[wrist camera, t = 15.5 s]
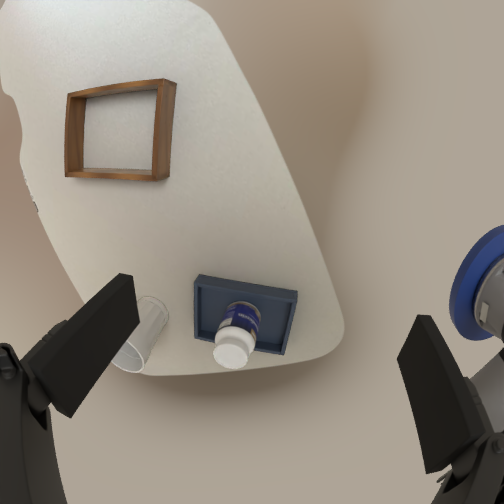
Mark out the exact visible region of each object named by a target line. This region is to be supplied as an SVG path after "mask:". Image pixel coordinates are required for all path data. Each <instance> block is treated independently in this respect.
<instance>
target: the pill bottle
mask: <svg viewBox="0 0 504 504" xmlns="http://www.w3.org/2000/svg"><path fill="white" fill-rule="evenodd" d="M260 319H261V316H260V312H259V311H258V309H257V308H256V307H255V306H254V305H252V304H250V303H248V302H244V301H238V302H234V303H232V304H230V305H229V306H228V308H227V309H226V311H225V313H224V316H223V318H222V321H221V323H220V326H219V328H218V331H217V333H216V336H215V344H216V346H215V349H214V352H213V355H214V358H215V360H216V361H217V362H218V363H219V364H220V365H222V366H223V367H226V368H229V369H239V368H242V367H243V366H245V365H246V363H247V361H248V358H249V355H250V354H251V353H252V352H253V350H254V347H255V343H256V339H257V334H258V329H259V325H260Z"/></svg>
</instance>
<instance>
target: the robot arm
mask: <svg viewBox="0 0 504 504" xmlns="http://www.w3.org/2000/svg"><path fill="white" fill-rule="evenodd" d="M472 315H473V317H474V319H475V321H476V322H477V323H478V325H479V326H480V327H481V328H482V329H484V330H486V331H487V332H489V333H491V334H493V335H494V336H496V337H498V338H500V339H501V340H502V341H503V343H504V253H503V254H501V255H500V256H498V257H497V258H496V259H495V260H494V261H493V262H492V263H491V264H490V265H489V266H488V268H487V269H486V270H485V272H484V273H483V275H482V276H481V278H480V280H479V282H478V284H477V286H476V289H475V292H474V295H473V299H472ZM139 323H140V318H139V312H138V307H137V301H136V295H135V288H134V281H133V276H132V275H127V274H122V273H119V274H118V275H117V276H116V277H115V278H113V279H112V280H111V281H110V282H109V283H108V284H107V285H106V286H104V287H103V288H102V289H101V290H100V291H99V292H98V293H97V294H96V295H95V296H94V297H92V298H91V299H90V300H89V301H88V302H87V303H86V304H85V305H84V306H83V307H82V308H81V309H80V310H79V311H78V312H76V314H74V315H73V316H72V317H71V318H70V319H69V320H68V321H67V320H64V321H62V322H60V323H58V324H57V325H55V326H54V327H53V328H52V329H51V330H50V331H49V332H48V334H46V335H45V336H44V337H43V338H42V340H40V341H39V342H38V343H37V344H36V345H35V346H34V347H33V348H32V349H31V350H30V351H29V352H28V353H27V354H26V355H25V356H24V357H23V358H22V359H21V360H20V361H19V359H18V357H17V355H16V353H15V352H14V350H13V348H12V346H11V345H10V344H7V343H0V504H67V501H66V497H65V494H64V490H63V486H62V482H61V478H60V473H59V468H58V464H57V458H56V453H55V447H54V440H53V433H52V424H51V414H50V409H49V407H48V405H49V404H50V403H52V404H53V405H54V407H55V408H56V410H57V411H59V412H60V413H62V414H64V415H65V416H67V417H69V418H72V416H73V415H74V413H75V412H76V410H77V409H78V407H79V405H80V404H81V403H82V401H83V400H84V398H85V397H86V396H87V394H88V393H89V391H90V390H91V389H92V387H93V386H94V384H95V383H96V381H97V380H98V379H99V377H100V376H101V374H102V373H103V372H104V370H105V369H106V368H107V366H108V365H109V363H110V362H111V361H112V359H113V358H114V357H115V355H116V354H117V353H118V351H119V350H120V349H121V347H122V346H123V345H124V343H125V342H126V341H127V339H128V338H129V337H130V335H131V334H132V333H133V331H134V330H135V329H136V327H137V326H138V325H139ZM397 361H398V364H399V368H400V371H401V374H402V377H403V380H404V383H405V387H406V390H407V394H408V397H409V401H410V405H411V408H412V412H413V416H414V420H415V424H416V428H417V432H418V436H419V440H420V445H421V450H422V455H423V460H424V465H425V471H426V474H429V473H434V472H438V471H441V470H443V469H444V468H445V467H447V466H448V465H449V464H451V466H452V469H451V470H450V471H448V472H447V473H446V474H444V475H443V476H441V477H440V478H439V479H438V480H437V483H438V482H440V481H442V480H443V479H444V478H445V479H444V481H443V483H441V487H440V489H439V491H438V493H437V494H436V496H435V498H434V500H433V501H432V503H431V504H504V348H503V349H502V350H501V351H500V352H499V353H498V354H497V355H496V356H495V357H494V358H493V359H492V360H490V361H489V362H488V363H487V364H486V365H485V366H484V367H483V368H482V369H481V370H480V371H479V372H477V373H476V374H475V375H474V376H473V377H472V378H470V379H469V378H468V377H463V376H462V373H461V371H460V369H459V367H458V365H457V363H456V361H455V359H454V357H453V355H452V353H451V351H450V349H449V348H448V346H447V344H446V342H445V340H444V338H443V337H442V335H441V333H440V331H439V329H438V328H437V326H436V324H435V322H434V321H433V319H432V317H431V316H430V315H417V317H416V319H415V322H414V324H413V326H412V328H411V330H410V333H409V335H408V337H407V339H406V341H405V343H404V345H403V347H402V349H401V351H400V353H399V355H398V357H397Z"/></svg>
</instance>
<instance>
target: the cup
mask: <svg viewBox="0 0 504 504" xmlns="http://www.w3.org/2000/svg"><path fill="white" fill-rule="evenodd" d="M137 307H138V312H139V318H140V323H139V325H138V326H137V327H136V329H135V330H134V331H133V333H132V334H131V335H130V337H129V338H128V339H127V341H126V342H125V343H124V345H123V346H122V347H121V349H120V350H119V351H118V353H117V354H116V355H115V357H114V358H113V359H112V361H111V362H112V363H113V364H115V365H116V366H117V367H119V368H121V369H122V370H125V371H128V372H132V373H138V372H140V371H142V370H143V368H144V366H145V364H146V362H147V360H148V358H149V356H150V353H151V350H152V348H153V346H154V344H155V342H156V340H157V338H158V336H159V334H160V332H161V331H162V329H163V327H164V325H165V324H166V322H167V321H168V317H169V316H168V311H167V309H166V307H165V306H164V305H163V304H162V303H161V302H160V301H159V300H157V299H155V298H153V297H143V298H141V299H140V300H139V301H138V303H137Z"/></svg>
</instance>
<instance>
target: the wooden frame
mask: <svg viewBox="0 0 504 504" xmlns="http://www.w3.org/2000/svg"><path fill="white" fill-rule="evenodd" d="M176 85H177V83H175V82H172V81H170V80H167V79H152V80H142V81H133V82H126V83H119V84H112V85H106V86H101V87H95V88H90V89H85V90H81V91H76V92H72V93H68V95H67V105H66V119H65V144H64V163H65V177H84V178H110V179H129V180H144V181H159V180H162V179H164V178H167V177H169V174H170V153H171V138H172V125H173V114H174V103H175V94H176ZM154 89H158V92H157V101H156V111H155V123H154V137H153V156H152V170H139V169H112V168H83V139H84V119H85V105H86V98H90V97H96V96H102V95H108V94H115V93H123V92H132V91H142V90H154Z"/></svg>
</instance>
